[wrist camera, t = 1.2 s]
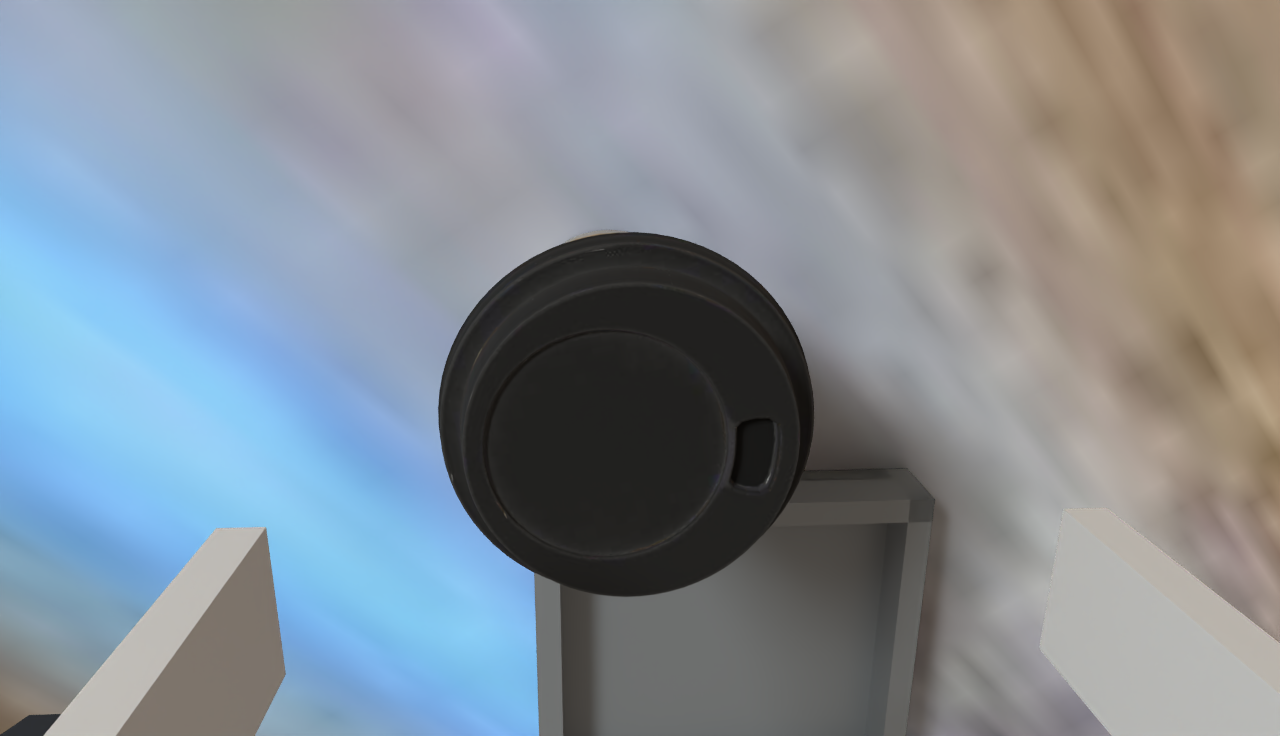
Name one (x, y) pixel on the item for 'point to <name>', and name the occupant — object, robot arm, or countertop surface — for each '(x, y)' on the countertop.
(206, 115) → the countertop surface
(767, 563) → the tray
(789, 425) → the coffee cup
